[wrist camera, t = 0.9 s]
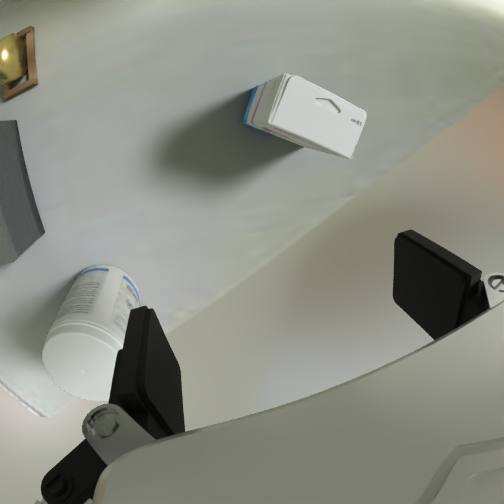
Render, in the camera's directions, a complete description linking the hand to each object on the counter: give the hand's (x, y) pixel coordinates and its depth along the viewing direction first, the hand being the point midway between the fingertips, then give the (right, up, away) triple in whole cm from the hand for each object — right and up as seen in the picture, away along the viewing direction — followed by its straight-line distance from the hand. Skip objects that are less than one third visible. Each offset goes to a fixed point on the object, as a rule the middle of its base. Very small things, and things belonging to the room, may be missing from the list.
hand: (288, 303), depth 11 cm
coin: (-29, +25, +13) cm, 40 cm away
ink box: (+2, +18, +23) cm, 29 cm away
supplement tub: (-20, -4, +27) cm, 34 cm away
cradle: (-29, +25, +13) cm, 40 cm away
